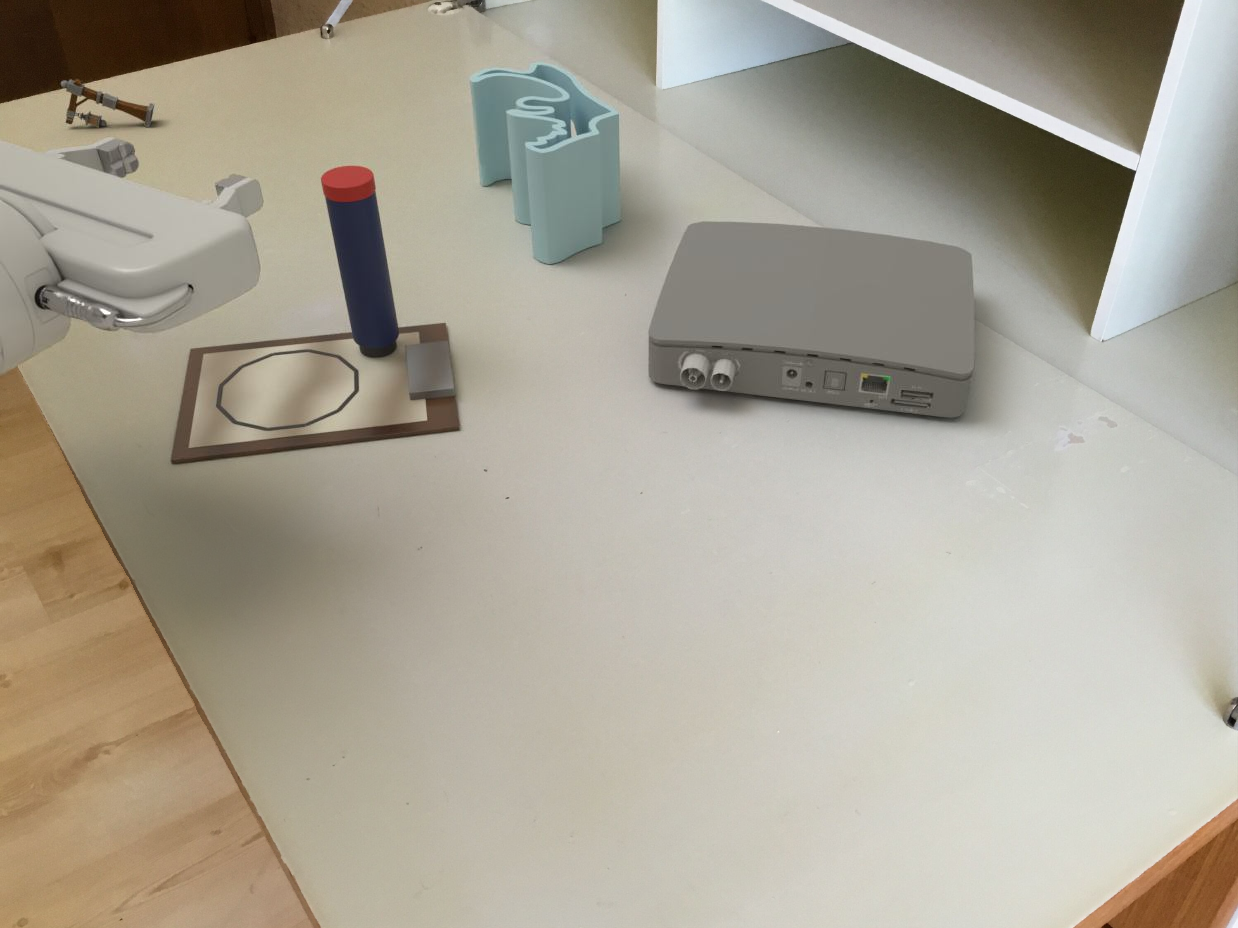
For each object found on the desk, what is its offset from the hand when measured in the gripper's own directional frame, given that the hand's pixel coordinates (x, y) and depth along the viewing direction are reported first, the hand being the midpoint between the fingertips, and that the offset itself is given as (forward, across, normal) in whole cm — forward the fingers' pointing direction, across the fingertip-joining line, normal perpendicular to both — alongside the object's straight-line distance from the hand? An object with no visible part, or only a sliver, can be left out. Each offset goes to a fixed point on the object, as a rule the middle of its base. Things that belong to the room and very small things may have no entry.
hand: (188, 169), depth 65 cm
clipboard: (+4, -2, +17) cm, 18 cm away
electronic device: (+26, -29, +17) cm, 43 cm away
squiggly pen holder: (+35, -1, +18) cm, 39 cm away
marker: (+10, -2, +17) cm, 20 cm away
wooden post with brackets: (+29, +45, +18) cm, 57 cm away
